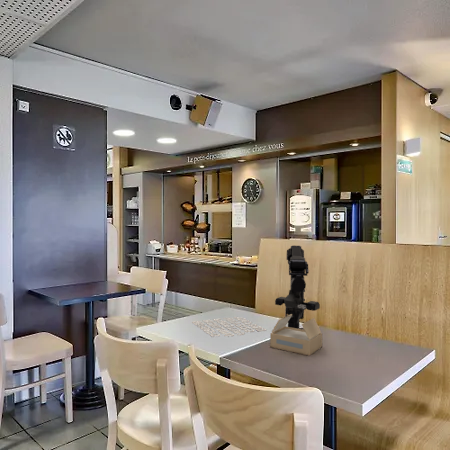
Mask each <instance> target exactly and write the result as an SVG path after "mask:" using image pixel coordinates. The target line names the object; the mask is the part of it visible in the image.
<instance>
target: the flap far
mask: <svg viewBox="0 0 450 450" xmlns="http://www.w3.org/2000/svg"><path fill="white" fill-rule="evenodd" d="M287 315H288V314H287ZM291 316H292V314H290V315H288V316H286V317H285V316H284V317H281V318H279V319H278V321H277V322H276V324H275V326H274V327H273V329H272V331H271V333H272V332H275V331H277V330H279V329H281V328H283V327H285V326H286V327H287V325H288V321H289V319H290V318H291Z"/></svg>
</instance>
